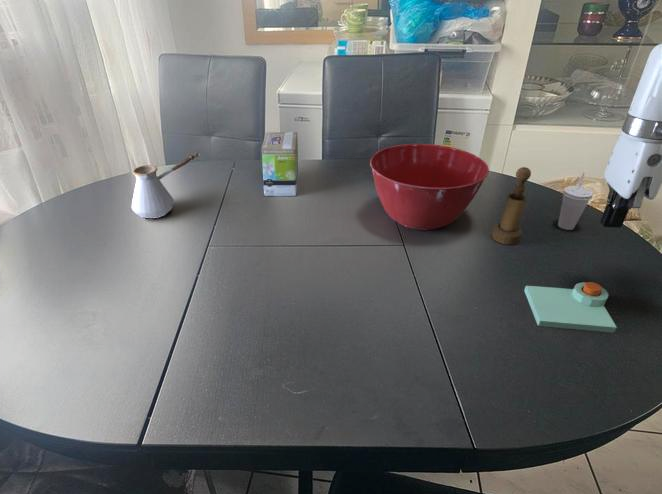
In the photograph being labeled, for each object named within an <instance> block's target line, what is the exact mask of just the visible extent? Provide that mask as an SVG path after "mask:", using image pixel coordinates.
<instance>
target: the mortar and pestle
mask: <svg viewBox="0 0 662 494" xmlns="http://www.w3.org/2000/svg"><path fill="white" fill-rule="evenodd" d="M531 176H532V171H531V169H530V168H528V167H526V166H522V167H520V168H518V169H517V170H516V172H515V177H516V178H515V179H516V181H517V183H516V185H514V187H513V192H511V193H509V194H508V195H507V198H506V203H505V206H504V211H503V214H502V217H501V220H500V223H497V224H495V225H494V226H493V228H492V233H491V238H492V239H493V240H494V241H495V242H497V243H499V244H502V245H507V246H514V245H518V244H519V243H520V242H521V239H522V235H523V230H522V229H521V228H520V227H519V225H520V223H521V219H522V216H523V212H524V209H525V205H526V202H527V199H528V197H527V196H526V195H524V192H525V190H526V186H525V183H527V181H529V179H530V178H531Z"/></svg>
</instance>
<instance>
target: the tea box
mask: <svg viewBox="0 0 662 494" xmlns="http://www.w3.org/2000/svg"><path fill="white" fill-rule="evenodd" d="M298 141H299V140H298V132H297V131H284V132H283V131H280V132H274V131H271V132H265V135H264V139H263V143H262V146H261V162H262V182H263V196H264V197H296V196H297V192H298V181H299V150H298V149H299V148H298V147H299V145H298Z"/></svg>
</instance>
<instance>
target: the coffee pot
mask: <svg viewBox="0 0 662 494" xmlns="http://www.w3.org/2000/svg"><path fill="white" fill-rule="evenodd" d="M198 156H199V158H200V159H203V157H202V156H201V154H200V152H196V153H194V154H190V155H189V157H187V158H185V159H182V160H181V161H180V162H178V163H177V164H175V165H174V166H173V167H171V168H170V169H168V170H166V171H165V172H163V173H161V174H159V175H158V176H157V171H158V167H157V166H155V165H153V164H152V165H150V164H148V165H147V164H146V165H140V166H137V167H135V168H133V169H132V174H133V175H134V176H135V185H134V191H133V196H132V201H131V210H132V211H133V213H134V214H136V215H137V216H139V217H141V218H143V217H146V218H153V217H159V216H162V215H164V214H166V213H168V212H171V210H172V209H173V208H174V204H175V201H174V198H173V196H172V195H171V193H170V192H169V191H168V190H167V188H166V187H165V185H164V184H163V182H162V181H161V179H163V178H164V177H166V176H168V175H169V174H171V173H173V172H174V171H176V170H178V169H180V168H181V167H184V166H185V165H187V164H188V163H190V161H191V160H192V161H193V160H194V159H195V158H197V157H198ZM168 214H169V213H168Z"/></svg>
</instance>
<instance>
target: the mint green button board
mask: <svg viewBox="0 0 662 494" xmlns="http://www.w3.org/2000/svg"><path fill="white" fill-rule="evenodd" d="M586 283H587V282H584V281H583V282H579V283H576V284H575V285H574V287H573V288H564V287H563V288H562V287H552V286H551V287H549V286H537V285H525V287H524V290H523V291H524V294H525V296H526V299H527V301H528V304H529V306H530V309H531V312H532V314H533V318H534V319H535V322H536V324H537V326H538V327H546V328H554V329H555V328H557V329H568V330H579V331H588V332H589V331H590V332H601V333H611V334H614V333H615V332H616V330H617V328H618V326H617V325H616V324H615V322H614V320H613V319H612V317H611V314H609V312H608V310H607V308H606V307H605V305H606V302H607V300H608V299H609V296H610V294H609V292H608V291H607V289H606V288H604V287H602V289H601V292H600V294H599V296H590V295H587V294H585V293H584V292H583V288H584V286H585V284H586Z"/></svg>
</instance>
